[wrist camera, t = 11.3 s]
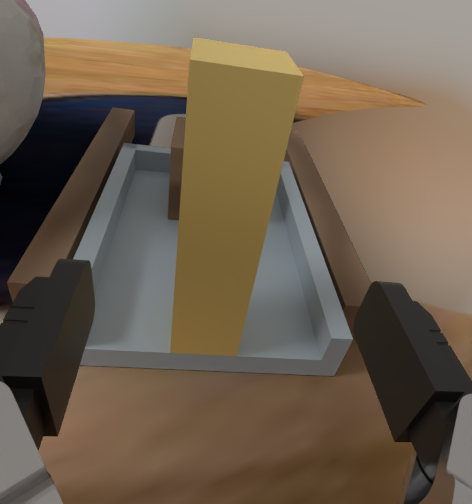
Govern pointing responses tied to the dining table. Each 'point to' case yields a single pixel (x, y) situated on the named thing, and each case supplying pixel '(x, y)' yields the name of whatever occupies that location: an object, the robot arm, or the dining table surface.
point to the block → (176, 169)
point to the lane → (96, 176)
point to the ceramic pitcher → (19, 73)
